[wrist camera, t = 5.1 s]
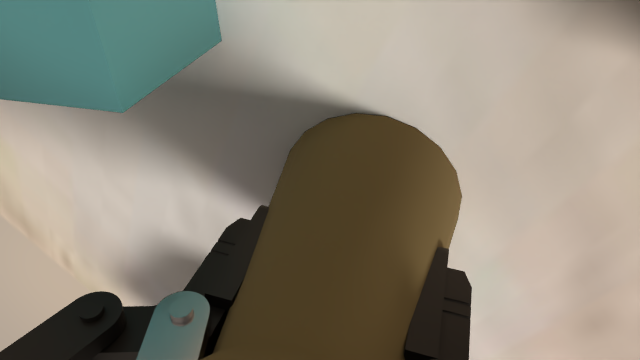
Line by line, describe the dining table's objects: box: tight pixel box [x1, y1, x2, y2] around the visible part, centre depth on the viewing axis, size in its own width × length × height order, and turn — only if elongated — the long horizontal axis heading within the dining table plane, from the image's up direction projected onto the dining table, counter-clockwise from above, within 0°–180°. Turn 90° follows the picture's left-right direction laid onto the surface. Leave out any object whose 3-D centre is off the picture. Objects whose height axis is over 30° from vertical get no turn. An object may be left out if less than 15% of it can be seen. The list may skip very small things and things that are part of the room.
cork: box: [200, 113, 462, 360], centre depth 12 cm, size 6×6×11 cm
